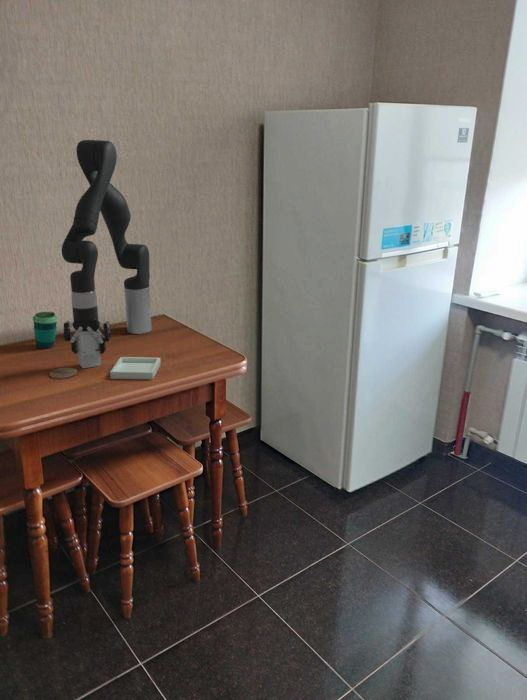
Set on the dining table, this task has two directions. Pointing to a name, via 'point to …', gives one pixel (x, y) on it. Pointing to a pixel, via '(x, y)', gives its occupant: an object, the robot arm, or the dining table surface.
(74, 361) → the dining table surface
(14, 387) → the dining table surface
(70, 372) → the coaster
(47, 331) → the cup
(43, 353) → the dining table surface
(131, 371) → the tray
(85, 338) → the skincare box
